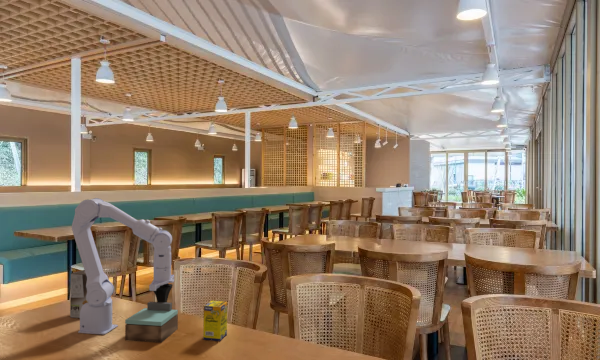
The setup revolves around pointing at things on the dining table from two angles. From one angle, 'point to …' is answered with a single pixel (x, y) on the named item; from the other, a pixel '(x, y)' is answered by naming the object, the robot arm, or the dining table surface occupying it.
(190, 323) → the dining table surface
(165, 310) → the lid
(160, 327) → the crate
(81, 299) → the coffee box
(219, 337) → the supplement box
